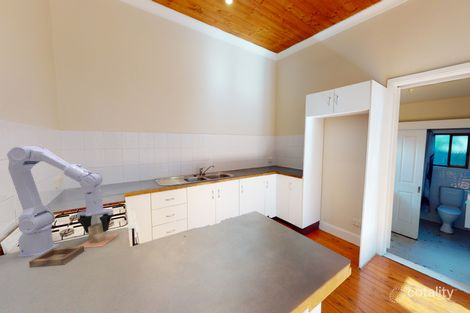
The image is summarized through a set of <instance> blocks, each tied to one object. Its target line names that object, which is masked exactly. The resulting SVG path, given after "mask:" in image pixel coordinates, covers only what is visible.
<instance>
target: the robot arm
mask: <svg viewBox="0 0 470 313" xmlns="http://www.w3.org/2000/svg"><path fill="white" fill-rule="evenodd" d="M6 157H7V159H8V161H9V162H8V168H7V169H8V173H9V175H10V177H11V181H12V183H13V185H14V189H15V191H16V194H17V197H18V199H19V200H18V201H20V205H21V208H22V210H23V211H22V212H21V214H20V215H19V216H18V217H17V218H18V222H19V223H18V230H19V232H21V233H22V234H20V236H19V237H18V247H19V255H17V257H31V256H40V255H42V254H44V253H46V252H48V251H49V250H51V249H54V248H57V247H58V246H60V243H56V244H55V243H54V238H53V230H52V226H53V223H54V222H55V220H56V216H55V214H54V213H53V212H52V211H51V209H50V207H48V206H46V205H44V204H43V202H42V198H41V196H40V193H39V190H38V188H37V185H36V182H35V178H34V176H33V173H32V171H31V170H32V169H33V168H34V167H35V166H36V165H37V164H39V163H41V162H44V163H47V164H48V165H50V166H53V167H54V168H57V169H59V170H61V171H63V173H64V175H65V176H66V177H68V178H70V179H72V180H74V181H76V182H77V183H79V186H81V188H83V192H84V193H83V194H84V200H85V210H84V211H83V210H82V211H79V212H76V218H78V219H77V222H78V223H79V224H80V225H81V226H82V227H83V229H84V231H85V234H88V233H89V231H88V227H90V226H91V219H92V216H97V215H103V216H101V217H100V218H99V219H100V220H101V223H102V227H103V232H105V233H107V232H108V231H109V227H110V223H111V219H112V218H113V217H114V209H113V208H111V209H109V208H108V209H107V208H104V204H103V195H102V187H101V184H102V183H103V176H102V175H101V174H100V173H98V172H94V173H93V171H92V170H88V169H87V168H85V167H82V166H83V165H82V164H80V163H78V164H77V163H72V164H71V163H69V162H67V161H66V160H64V159H62V158H61V157H59V156H58V155H56V154H55V153H53V152H51V150H50V149H47V148H45V147H44V146H41V145H37V146H34V145H32V146H30V145H26V146H25V145H15V146H13V147H12V148H10V150H9V151H8V152H7V153H6Z"/></svg>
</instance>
